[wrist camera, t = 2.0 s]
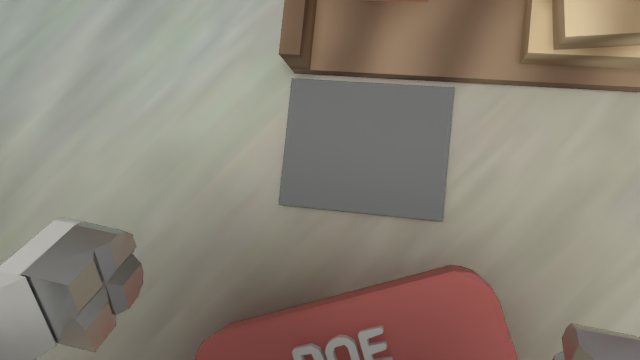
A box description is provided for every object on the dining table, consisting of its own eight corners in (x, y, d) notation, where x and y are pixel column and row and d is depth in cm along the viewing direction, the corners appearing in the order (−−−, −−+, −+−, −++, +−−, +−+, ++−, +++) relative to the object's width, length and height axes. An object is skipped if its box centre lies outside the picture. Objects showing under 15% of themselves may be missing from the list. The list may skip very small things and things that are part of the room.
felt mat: (280, 204, 32) (278, 204, 31) (293, 80, 32) (291, 78, 31) (441, 221, 30) (442, 221, 29) (453, 89, 30) (454, 87, 30)
